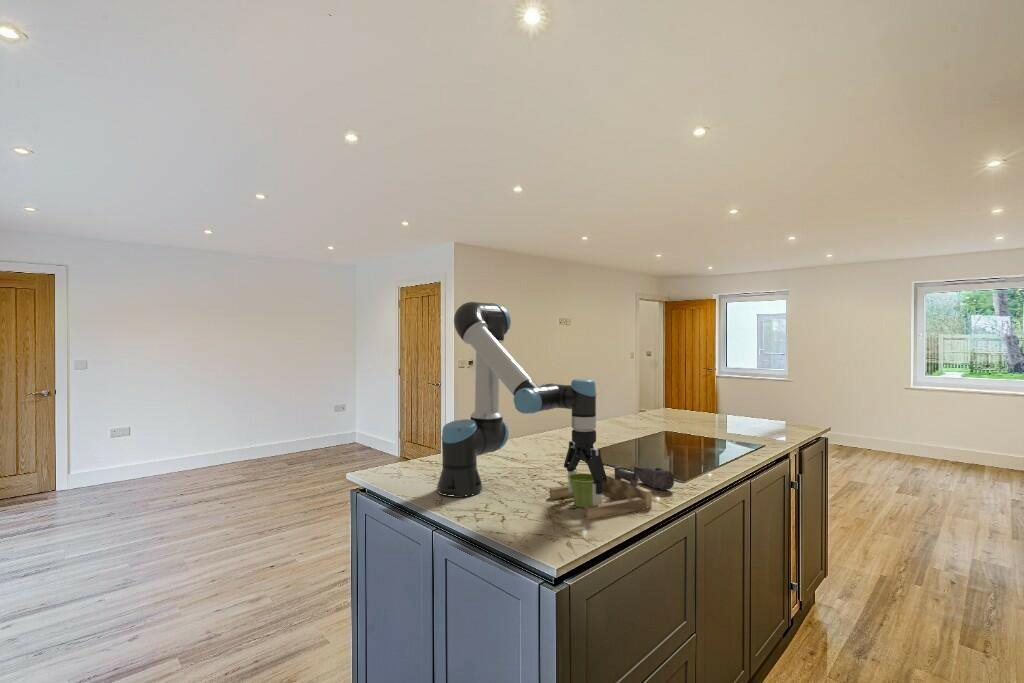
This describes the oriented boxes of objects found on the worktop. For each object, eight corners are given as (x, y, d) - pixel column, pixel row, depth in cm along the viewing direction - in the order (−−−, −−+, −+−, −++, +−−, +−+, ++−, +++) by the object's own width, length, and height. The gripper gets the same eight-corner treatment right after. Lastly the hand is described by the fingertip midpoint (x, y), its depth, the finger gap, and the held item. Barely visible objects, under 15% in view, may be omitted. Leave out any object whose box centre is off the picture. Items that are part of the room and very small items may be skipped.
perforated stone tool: (633, 482, 174) (633, 463, 174) (644, 480, 177) (644, 461, 177) (663, 494, 161) (663, 473, 161) (675, 491, 164) (675, 471, 164)
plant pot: (581, 498, 157) (581, 471, 157) (605, 504, 151) (605, 476, 151) (563, 505, 151) (562, 477, 151) (587, 512, 144) (587, 483, 144)
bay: (550, 497, 158) (549, 462, 158) (608, 487, 168) (608, 454, 168) (588, 519, 138) (588, 479, 138) (652, 507, 148) (652, 469, 148)
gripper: (618, 435, 141) (619, 508, 141) (572, 422, 164) (573, 485, 164) (597, 437, 138) (597, 512, 138) (553, 424, 160) (553, 488, 161)
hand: (584, 497), depth 151 cm, fingers open, 13 cm apart
